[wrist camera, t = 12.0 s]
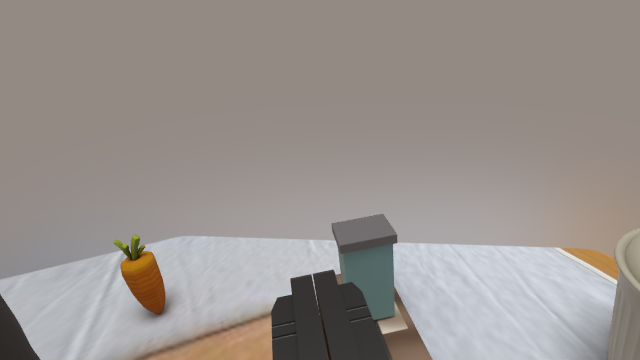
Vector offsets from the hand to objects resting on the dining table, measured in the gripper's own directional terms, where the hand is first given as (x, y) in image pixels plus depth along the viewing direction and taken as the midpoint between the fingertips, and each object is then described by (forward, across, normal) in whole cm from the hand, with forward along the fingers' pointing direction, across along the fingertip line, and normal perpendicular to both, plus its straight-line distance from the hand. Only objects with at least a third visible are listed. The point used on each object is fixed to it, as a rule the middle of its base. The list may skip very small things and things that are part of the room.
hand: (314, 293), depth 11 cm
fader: (+23, -8, +27) cm, 36 cm away
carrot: (+34, +24, +30) cm, 52 cm away
